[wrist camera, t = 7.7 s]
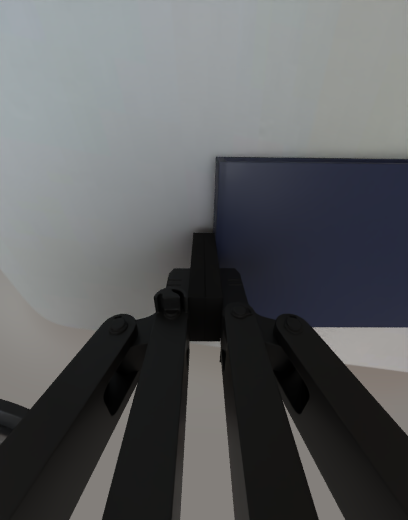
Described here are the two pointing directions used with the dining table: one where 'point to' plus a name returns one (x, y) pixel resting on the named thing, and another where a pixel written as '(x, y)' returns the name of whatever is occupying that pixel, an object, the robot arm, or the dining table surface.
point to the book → (317, 237)
